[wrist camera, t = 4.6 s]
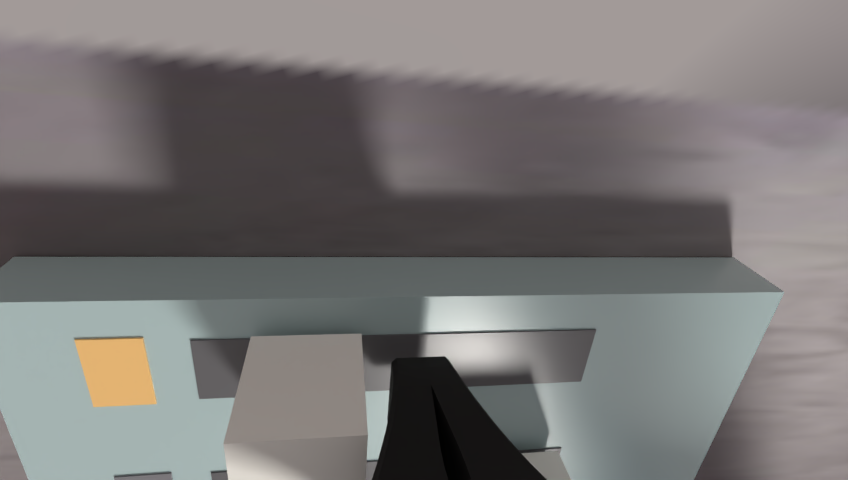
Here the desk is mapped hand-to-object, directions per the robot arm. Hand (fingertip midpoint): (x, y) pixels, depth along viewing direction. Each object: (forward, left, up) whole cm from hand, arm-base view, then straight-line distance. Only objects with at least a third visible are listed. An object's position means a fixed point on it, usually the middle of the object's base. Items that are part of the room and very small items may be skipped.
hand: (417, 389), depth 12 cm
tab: (+2, +2, -1) cm, 3 cm away
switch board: (-5, +4, -3) cm, 7 cm away
